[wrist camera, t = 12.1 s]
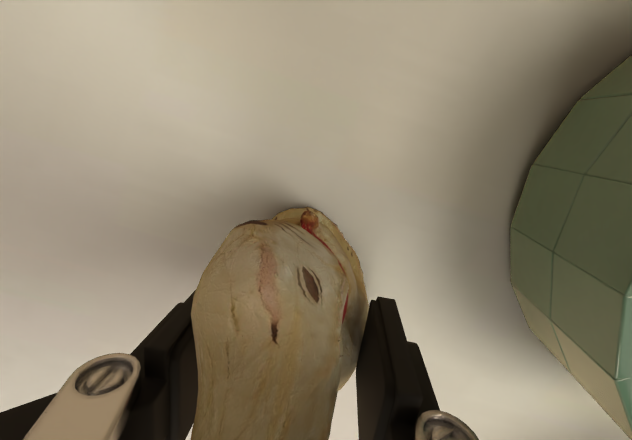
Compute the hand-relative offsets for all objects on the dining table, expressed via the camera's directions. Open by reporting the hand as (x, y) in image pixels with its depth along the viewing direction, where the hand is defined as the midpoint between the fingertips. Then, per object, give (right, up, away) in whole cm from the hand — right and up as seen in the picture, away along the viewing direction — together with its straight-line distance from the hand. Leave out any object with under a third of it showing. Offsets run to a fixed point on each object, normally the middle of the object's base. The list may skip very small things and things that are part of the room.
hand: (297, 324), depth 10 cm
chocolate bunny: (0, +1, +3) cm, 3 cm away
